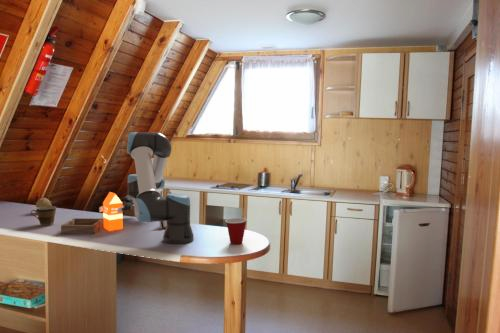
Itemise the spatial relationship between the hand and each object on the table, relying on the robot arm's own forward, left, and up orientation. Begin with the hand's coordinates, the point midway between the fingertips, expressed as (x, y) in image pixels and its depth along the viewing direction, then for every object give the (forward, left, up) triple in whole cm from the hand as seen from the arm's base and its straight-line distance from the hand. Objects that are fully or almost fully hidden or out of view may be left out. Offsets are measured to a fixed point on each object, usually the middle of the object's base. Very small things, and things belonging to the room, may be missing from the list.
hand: (109, 210), depth 220 cm
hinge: (+13, -31, -12) cm, 36 cm away
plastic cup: (-22, -69, -12) cm, 73 cm away
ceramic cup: (+11, +40, -12) cm, 43 cm away
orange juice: (+4, -1, -11) cm, 12 cm away
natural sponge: (+43, +55, -12) cm, 71 cm away
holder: (+1, +14, -11) cm, 18 cm away
